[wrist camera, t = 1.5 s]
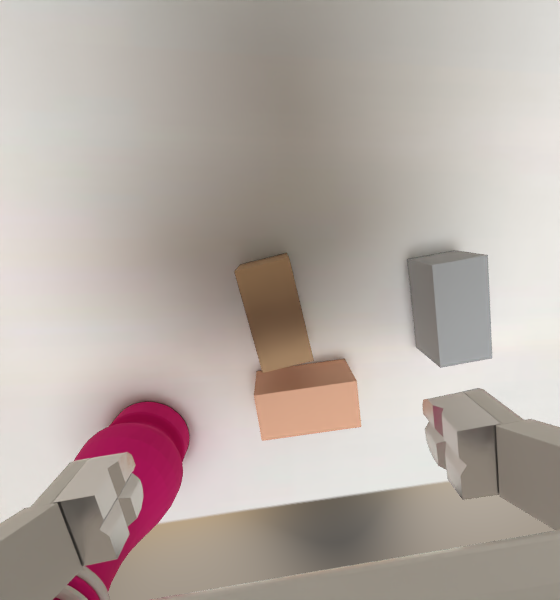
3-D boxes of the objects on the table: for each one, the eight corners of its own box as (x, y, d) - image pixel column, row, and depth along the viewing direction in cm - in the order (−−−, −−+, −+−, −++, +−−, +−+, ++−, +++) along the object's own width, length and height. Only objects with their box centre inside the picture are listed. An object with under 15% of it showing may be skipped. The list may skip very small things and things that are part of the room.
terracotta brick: (263, 409, 27) (262, 440, 23) (256, 370, 26) (253, 395, 22) (348, 397, 27) (361, 426, 23) (344, 357, 26) (356, 381, 22)
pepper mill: (201, 402, 26) (0, 895, 7) (190, 478, 28) (-1, 1057, 8) (110, 388, 26) (-375, 870, 7) (104, 466, 28) (-306, 1046, 8)
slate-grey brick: (406, 259, 24) (432, 265, 21) (453, 250, 24) (487, 254, 21) (415, 346, 26) (440, 367, 22) (459, 338, 26) (492, 358, 22)
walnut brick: (240, 264, 24) (234, 271, 20) (286, 252, 24) (289, 257, 20) (264, 350, 26) (262, 372, 22) (307, 340, 26) (313, 360, 22)
